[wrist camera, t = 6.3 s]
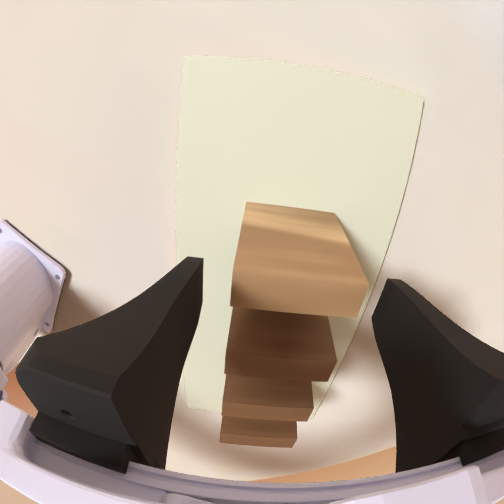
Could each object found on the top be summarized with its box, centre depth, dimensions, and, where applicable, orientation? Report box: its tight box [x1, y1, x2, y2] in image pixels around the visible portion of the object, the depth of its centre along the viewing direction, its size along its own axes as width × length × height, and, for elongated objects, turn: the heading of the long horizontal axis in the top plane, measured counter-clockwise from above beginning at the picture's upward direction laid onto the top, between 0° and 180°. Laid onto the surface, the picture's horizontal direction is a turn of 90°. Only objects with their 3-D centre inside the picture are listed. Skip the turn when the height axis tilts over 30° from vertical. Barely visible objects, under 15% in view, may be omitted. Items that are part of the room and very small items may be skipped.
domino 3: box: [222, 374, 314, 421], centre depth 18 cm, size 2×5×7 cm, turn 84°
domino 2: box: [224, 307, 337, 382], centre depth 16 cm, size 2×5×7 cm, turn 84°
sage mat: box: [176, 56, 424, 419], centre depth 20 cm, size 30×13×1 cm, turn 174°
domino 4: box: [220, 416, 297, 448], centre depth 20 cm, size 2×5×7 cm, turn 84°
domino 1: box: [230, 202, 369, 318], centre depth 14 cm, size 2×5×7 cm, turn 84°
